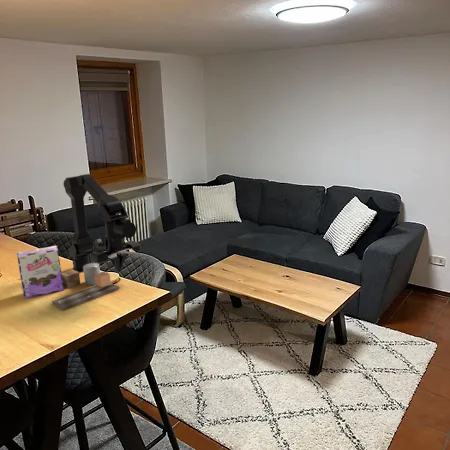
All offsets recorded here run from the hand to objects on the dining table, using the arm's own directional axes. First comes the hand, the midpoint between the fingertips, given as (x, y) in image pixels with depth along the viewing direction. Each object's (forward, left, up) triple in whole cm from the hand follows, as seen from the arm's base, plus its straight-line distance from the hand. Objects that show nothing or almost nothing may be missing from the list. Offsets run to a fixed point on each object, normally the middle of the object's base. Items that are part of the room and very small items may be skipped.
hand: (118, 272), depth 161 cm
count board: (+14, 0, -5) cm, 15 cm away
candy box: (+22, -17, -5) cm, 28 cm away
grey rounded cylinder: (+5, -10, -5) cm, 12 cm away
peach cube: (+7, 0, -3) cm, 7 cm away
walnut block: (+12, -15, -5) cm, 20 cm away
